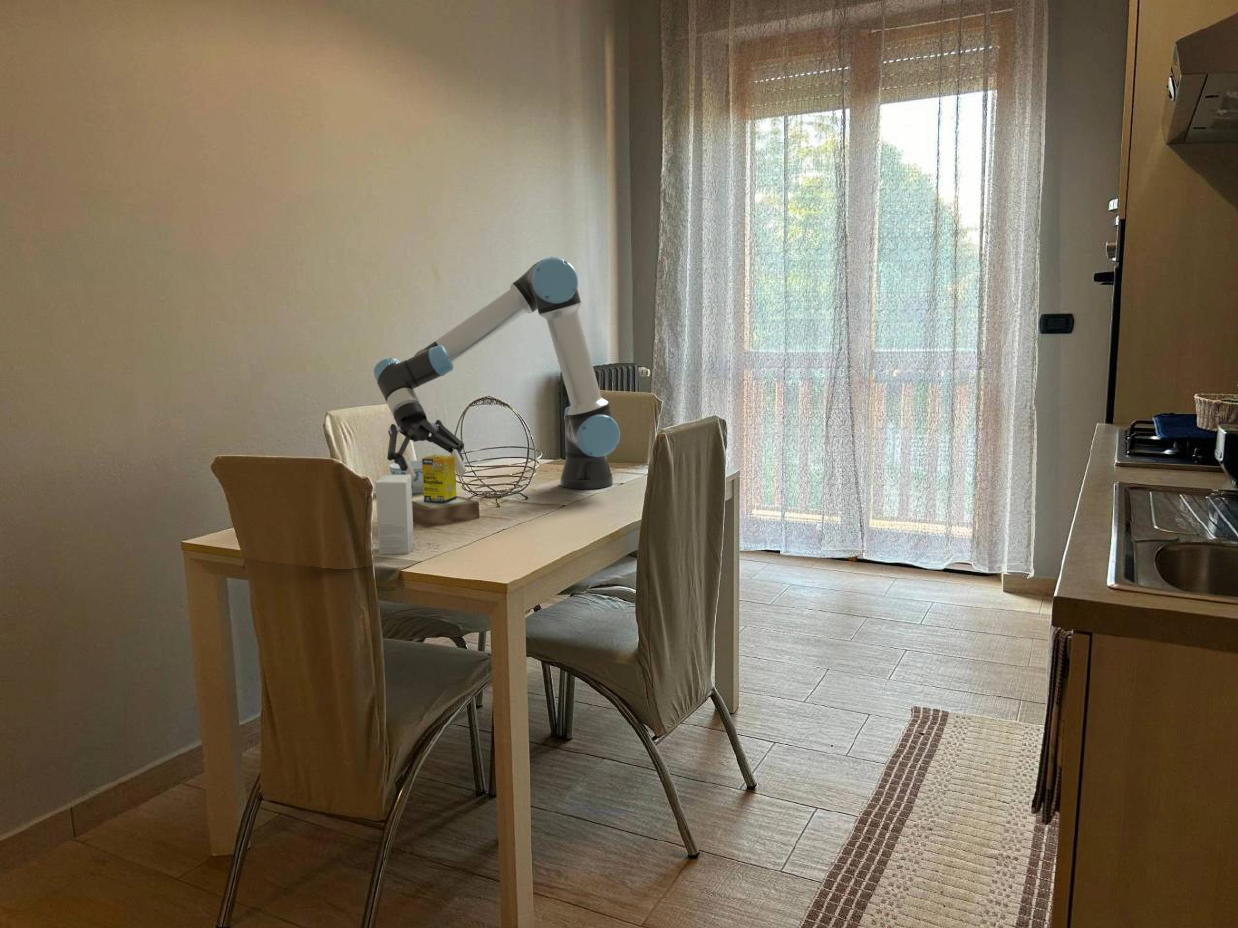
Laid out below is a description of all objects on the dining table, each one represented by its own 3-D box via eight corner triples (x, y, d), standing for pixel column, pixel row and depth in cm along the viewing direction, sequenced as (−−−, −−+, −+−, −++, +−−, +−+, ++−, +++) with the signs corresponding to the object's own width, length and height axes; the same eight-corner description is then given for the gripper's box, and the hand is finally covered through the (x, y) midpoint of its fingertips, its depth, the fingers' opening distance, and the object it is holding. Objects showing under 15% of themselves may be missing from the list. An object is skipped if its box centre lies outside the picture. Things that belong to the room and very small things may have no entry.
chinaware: (403, 498, 253) (402, 470, 251) (382, 490, 265) (381, 464, 263) (453, 491, 261) (452, 464, 260) (430, 484, 273) (429, 458, 272)
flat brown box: (453, 510, 235) (452, 493, 234) (479, 517, 225) (478, 500, 224) (402, 518, 226) (401, 501, 226) (427, 526, 216) (426, 509, 216)
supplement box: (423, 502, 223) (420, 458, 222) (436, 498, 229) (433, 454, 227) (445, 503, 221) (442, 458, 220) (457, 499, 227) (455, 455, 225)
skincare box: (385, 545, 199) (381, 474, 197) (416, 544, 199) (412, 473, 197) (378, 555, 191) (373, 481, 188) (410, 554, 191) (406, 480, 189)
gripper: (446, 416, 243) (478, 479, 234) (356, 424, 228) (386, 492, 218) (455, 397, 238) (488, 460, 229) (364, 404, 223) (395, 472, 214)
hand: (438, 476), depth 224 cm, fingers open, 13 cm apart
